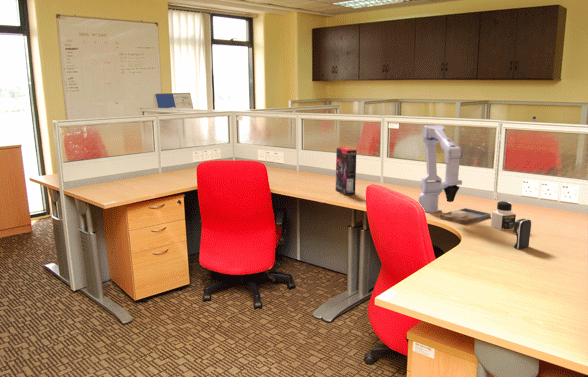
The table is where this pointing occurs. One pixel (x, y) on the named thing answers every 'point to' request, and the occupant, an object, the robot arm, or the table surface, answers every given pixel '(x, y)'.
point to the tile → (458, 213)
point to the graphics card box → (345, 170)
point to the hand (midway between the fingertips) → (450, 201)
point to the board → (463, 220)
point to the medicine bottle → (503, 216)
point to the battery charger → (522, 233)
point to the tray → (476, 213)
